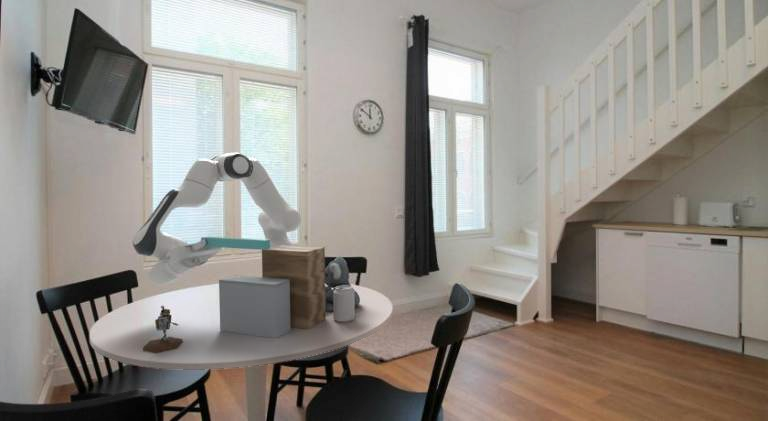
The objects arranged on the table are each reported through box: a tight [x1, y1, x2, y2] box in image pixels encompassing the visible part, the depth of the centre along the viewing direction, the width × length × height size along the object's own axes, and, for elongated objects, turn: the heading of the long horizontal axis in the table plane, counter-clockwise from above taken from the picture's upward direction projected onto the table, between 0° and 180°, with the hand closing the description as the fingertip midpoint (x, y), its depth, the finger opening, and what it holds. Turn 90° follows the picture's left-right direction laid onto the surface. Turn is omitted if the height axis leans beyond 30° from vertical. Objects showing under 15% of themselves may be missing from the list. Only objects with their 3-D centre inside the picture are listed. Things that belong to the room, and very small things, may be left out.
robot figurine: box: [142, 305, 184, 354], centre depth 124 cm, size 11×9×12 cm
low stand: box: [218, 274, 291, 339], centre depth 137 cm, size 8×22×17 cm, turn 70°
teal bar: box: [200, 236, 270, 251], centre depth 139 cm, size 3×26×3 cm, turn 70°
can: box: [333, 285, 356, 323], centre depth 148 cm, size 8×8×12 cm
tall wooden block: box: [261, 245, 326, 330], centre depth 147 cm, size 12×18×26 cm, turn 70°
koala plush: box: [325, 256, 361, 312], centre depth 165 cm, size 17×18×20 cm
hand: (210, 240), depth 142 cm, fingers closed on teal bar, 3 cm apart
